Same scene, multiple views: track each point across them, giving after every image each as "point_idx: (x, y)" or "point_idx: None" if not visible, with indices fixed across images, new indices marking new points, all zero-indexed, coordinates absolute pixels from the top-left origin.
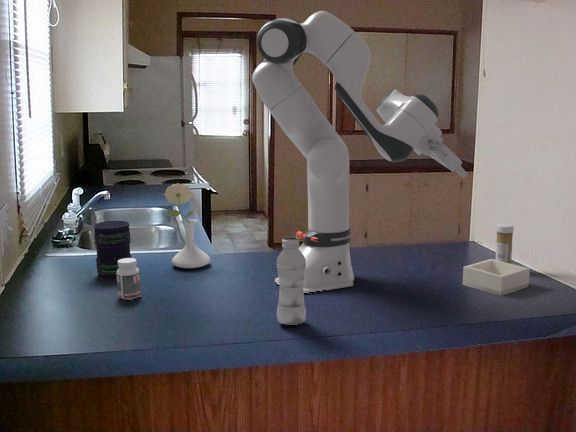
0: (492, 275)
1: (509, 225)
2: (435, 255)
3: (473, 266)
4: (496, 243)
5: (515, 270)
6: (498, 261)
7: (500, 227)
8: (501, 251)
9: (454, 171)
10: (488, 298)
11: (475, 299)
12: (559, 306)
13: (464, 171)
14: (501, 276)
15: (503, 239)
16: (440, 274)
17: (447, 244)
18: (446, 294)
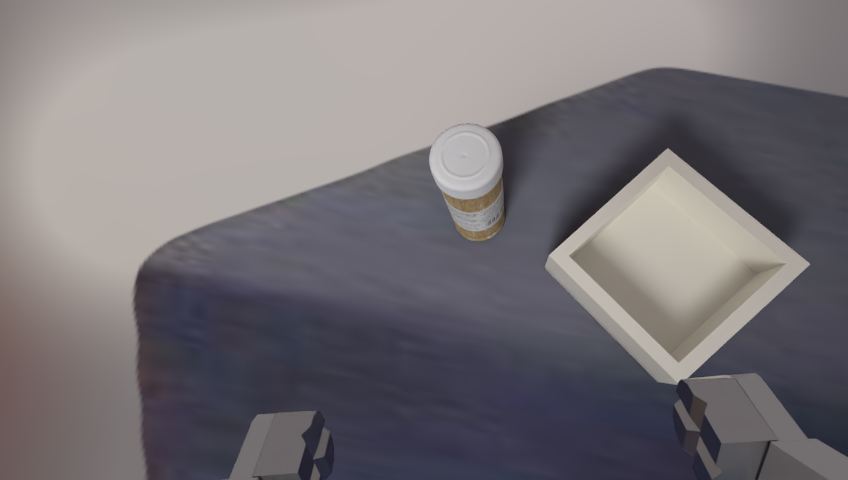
0: (778, 293)
1: (473, 138)
2: None
3: (653, 340)
4: (472, 214)
5: (638, 194)
6: (584, 236)
7: (490, 180)
8: (499, 207)
9: (331, 446)
10: (807, 322)
11: (829, 370)
12: (844, 126)
13: (788, 423)
14: (803, 264)
15: (499, 186)
16: (534, 439)
17: (158, 341)
18: None
